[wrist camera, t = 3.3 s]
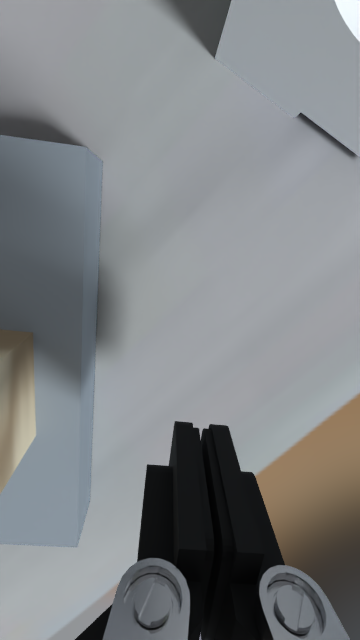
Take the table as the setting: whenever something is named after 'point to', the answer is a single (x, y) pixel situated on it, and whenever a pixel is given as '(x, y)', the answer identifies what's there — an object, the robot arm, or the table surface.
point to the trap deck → (51, 329)
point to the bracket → (300, 58)
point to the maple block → (16, 400)
